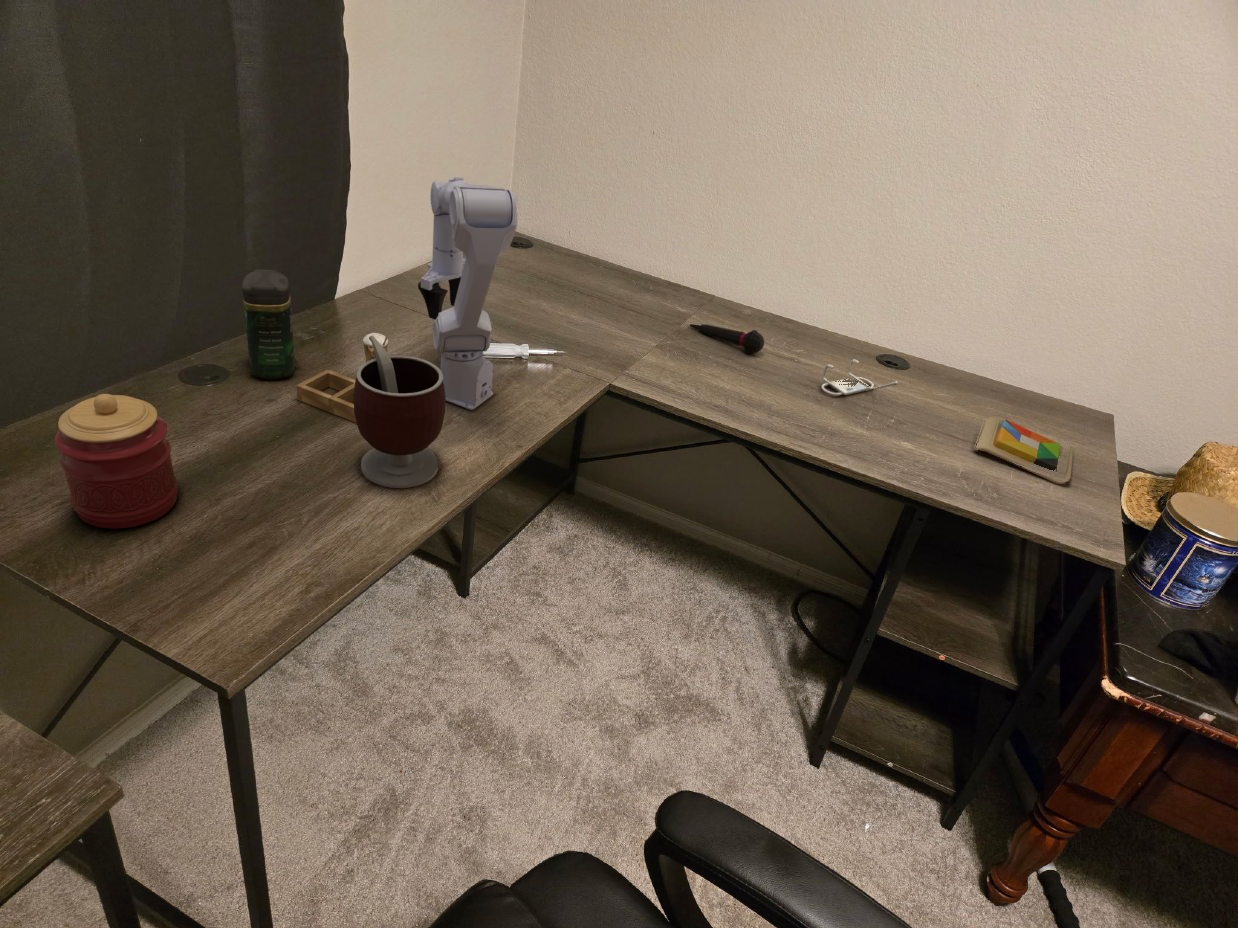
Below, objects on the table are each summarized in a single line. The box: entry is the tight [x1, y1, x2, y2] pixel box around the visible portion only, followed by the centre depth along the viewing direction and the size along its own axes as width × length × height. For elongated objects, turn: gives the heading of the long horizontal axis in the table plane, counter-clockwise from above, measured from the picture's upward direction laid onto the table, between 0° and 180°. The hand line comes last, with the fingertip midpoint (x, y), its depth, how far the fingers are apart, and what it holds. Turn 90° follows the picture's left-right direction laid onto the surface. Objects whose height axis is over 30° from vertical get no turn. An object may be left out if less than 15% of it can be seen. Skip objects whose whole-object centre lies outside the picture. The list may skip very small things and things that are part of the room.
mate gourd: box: [353, 336, 447, 489], centre depth 126 cm, size 16×14×20 cm
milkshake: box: [362, 332, 389, 362], centre depth 150 cm, size 4×5×10 cm
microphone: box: [689, 323, 765, 355], centre depth 193 cm, size 6×6×20 cm
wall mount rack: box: [820, 359, 899, 397], centre depth 180 cm, size 16×14×6 cm
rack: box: [296, 369, 357, 424], centre depth 143 cm, size 15×8×3 cm, turn 67°
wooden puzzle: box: [973, 416, 1075, 485], centre depth 169 cm, size 18×19×4 cm
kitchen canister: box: [54, 393, 179, 529], centre depth 109 cm, size 13×13×18 cm
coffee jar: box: [241, 269, 296, 380], centre depth 145 cm, size 10×8×19 cm
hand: (445, 312), depth 159 cm, fingers open, 7 cm apart
